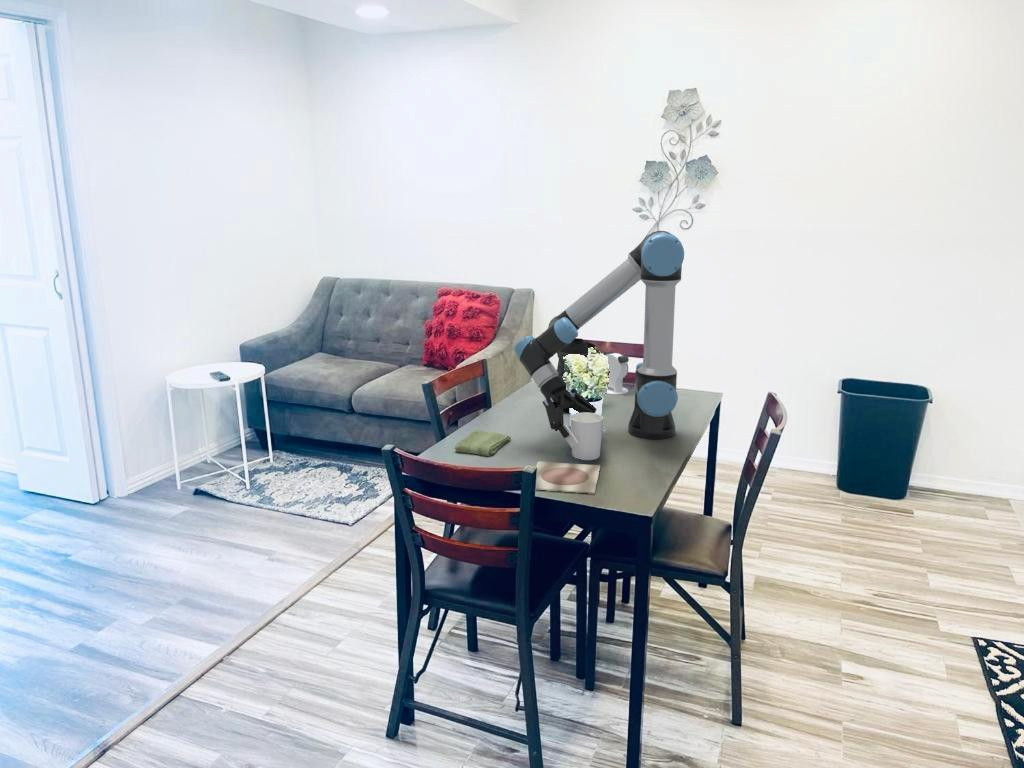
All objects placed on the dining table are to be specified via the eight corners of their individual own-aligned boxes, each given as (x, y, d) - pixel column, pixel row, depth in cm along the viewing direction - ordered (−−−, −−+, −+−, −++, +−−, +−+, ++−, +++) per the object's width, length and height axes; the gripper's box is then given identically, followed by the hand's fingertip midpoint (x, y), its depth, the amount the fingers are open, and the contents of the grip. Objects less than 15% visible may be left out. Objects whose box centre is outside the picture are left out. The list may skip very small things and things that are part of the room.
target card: (600, 467, 216) (600, 465, 216) (594, 494, 197) (594, 492, 197) (538, 463, 219) (538, 461, 219) (526, 489, 200) (526, 487, 200)
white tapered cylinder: (606, 452, 228) (607, 414, 225) (596, 463, 219) (597, 423, 216) (575, 448, 232) (576, 410, 229) (564, 458, 223) (565, 419, 220)
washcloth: (512, 440, 240) (512, 431, 239) (491, 459, 224) (491, 448, 223) (475, 436, 245) (474, 426, 244) (451, 453, 229) (451, 443, 228)
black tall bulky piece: (540, 409, 272) (541, 341, 266) (567, 397, 288) (568, 332, 281) (581, 416, 263) (582, 346, 257) (606, 403, 279) (608, 337, 273)
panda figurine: (635, 392, 294) (636, 354, 290) (611, 396, 288) (613, 358, 284) (616, 385, 304) (617, 349, 300) (593, 389, 298) (594, 352, 294)
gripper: (567, 381, 240) (605, 435, 235) (516, 397, 222) (555, 457, 216) (581, 367, 236) (620, 423, 230) (530, 383, 217) (571, 443, 212)
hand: (589, 439), depth 223 cm, fingers open, 13 cm apart
